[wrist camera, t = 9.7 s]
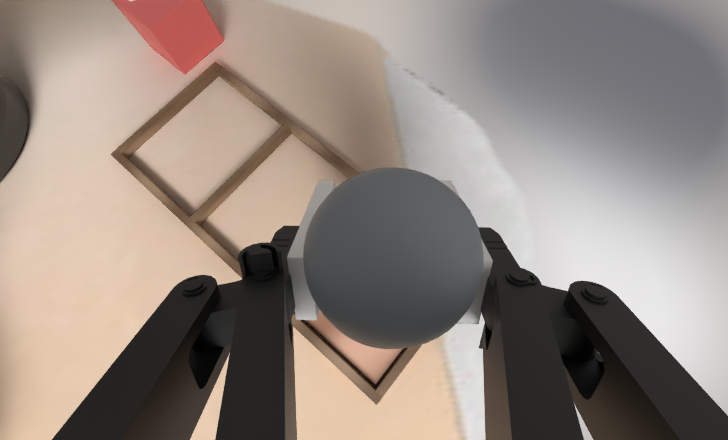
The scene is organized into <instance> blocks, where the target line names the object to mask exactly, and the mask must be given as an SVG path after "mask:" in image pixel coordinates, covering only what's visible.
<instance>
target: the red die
mask: <svg viewBox="0 0 728 440" xmlns="http://www.w3.org/2000/svg"><path fill="white" fill-rule="evenodd" d="M112 1H113V2H114V3H115V5H116V6H117V7H118V8H119V9H120V11H121V12H122V13H123V14H124V15H125V17H126V18H127V19H128V20H129V21H130V23H131V24H132V25H133V26H134V27H135V29H136V30H137V31H138V32H139V33H140V35H141V36H142V37H143V38H144V39H145V40H146V42H147V43H148V44H149V45H150V46H151V47H152V48H153V49H154V50H155V51H157V52H158V53H159V54H160V55H162V56H163V57H164V58H165V59H167V60H168V61H169V62H170V63H172V64H173V65H174V66H175V67H176V68H178V69H179V70H180V71H181V72H183V73H184V74H186V73H187V72H188V71H189V70H191V69H192V68H193V67H194V66H195V65H196V64H197V63H199V62H200V61H201V60H202V59H203V58H204V57H205V56H207V55H208V54H209V53H210V52H211V51H212V50H213V49H215V48H216V47H217V46H218V45H219V44H220V43H221V42H223V41H224V39H223V37H222V36H221V34H220V32H219V30H218V28H217V27H216V25H215V23H214V21H213V19H212V17H211V16H210V14H209V12H208V10H207V8H206V6H205V5H204V3H203V1H202V0H112Z"/></svg>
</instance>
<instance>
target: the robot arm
mask: <svg viewBox="0 0 728 440" xmlns="http://www.w3.org/2000/svg"><path fill="white" fill-rule="evenodd" d="M27 126H28V112H27V107H26V103H25V100H24V98H23V96H22V94H21V92H20V91H19V90H18V88H17V87H16V86H15V85H14V84H13V83H12V82H11V81H9V80H8V79H7V78H5V77H3V76H2V75H0V180H1V178H2V177H3V176H4V175H5V174H6V173H7V171H8V170H9V169H10V167H11V166H12V164H13V163H14V161H15V160H16V158H17V156H18V154H19V152H20V150H21V148H22V145H23V143H24V140H25V137H26V132H27ZM440 182H442V183H443V184H445V185H446V186H448V187H449V188H450V189H451V190H453V191H454V192H455V193H456V194H457V195H458V193H457V191H456V189H455V187H454V185H453V183H452V181H440ZM334 189H335V184H334V180H319V181H318V183H317V186H316V188H315V191H314V193H313V195H312V198H311V200H310V203H309V205H308V207H307V210H306V212H305V215H304V217H303V220H302V222H301V224H300V226H283V227H282V228H281V229H279V230H278V231H277V232H276V233H275V235H274V237H273V239H272V241H271V242H270V243H258V244H253V245H251V246H248V247H246V248H245V249H243V250H242V251H241V252H240V253H239V255H238V260H239V264H240V268H241V273H242V277H243V278H242V280H240V281H236V282H232V283H227V284H222V285H217V282H216V279H215V278H213V277H212V276H207V275H199V276H194V277H190V278H187V279H185V280H184V281H182V282H180V283H179V284H177V285H176V286H175V287H174V288H173V289H172V291H171V292H170V293H169V294H168V296H167V297H166V298H165V299H164V301H163V302H162V303H161V304H160V306H159V307H158V308H157V309H156V311H155V312H154V313H153V314H152V316H151V317H150V318H149V319H148V321H147V322H146V323H145V324H144V326H143V327H142V328H141V329H140V330H139V332H138V333H137V334H136V335H135V337H134V338H133V339H132V340H131V342H130V343H129V344H128V345H127V347H126V348H125V349H124V350H123V352H122V353H121V354H120V355H119V357H118V358H117V359H116V360H115V362H114V363H113V364H112V365H111V367H110V368H109V369H108V370H107V372H106V373H105V374H104V375H103V377H102V378H101V379H100V380H99V382H98V383H97V384H96V385H95V387H94V388H93V389H92V390H91V392H90V393H89V394H88V395H87V397H86V398H85V399H84V400H83V402H82V403H81V404H80V405H79V407H78V408H77V409H76V410H75V412H74V413H73V414H72V415H71V417H70V418H69V419H68V420H67V422H66V423H65V424H64V425H63V427H62V428H61V429H60V430H59V432H58V433H57V434H56V435H55V436H54V438H53V439H52V440H190V438H191V436H192V433H193V431H194V429H195V427H196V425H197V423H198V420H199V418H200V416H201V414H202V412H203V409H204V407H205V405H206V403H207V401H208V399H209V396H210V394H211V392H212V390H213V388H214V385H215V383H216V381H217V379H218V377H219V375H220V372H221V370H222V368H223V366H224V364H225V361H226V359H227V357H228V355H229V353H230V356H229V362H228V368H227V374H226V380H225V386H224V392H223V398H222V404H221V410H220V416H219V421H218V427H217V433H216V439H215V440H297V428H296V401H295V373H294V346H293V326H292V320H291V319H292V316H293V312H294V310H295V317H296V320H317V318H318V313H319V308H318V307H317V305H316V303H315V301H314V299H313V298H312V296H311V293H310V290H309V288H308V285H307V282H306V277H305V273H304V263H303V251H304V242H305V236H306V233H307V230H308V226H309V224H310V222H311V220H312V217H313V215H314V214H315V212H316V210H317V209H318V207H319V206H320V204H321V203H322V202H323V201H324V199H325V198H326V197H327V196H328V195H329V194H330V193H331V192H332V191H333V190H334ZM458 196H459V195H458ZM478 229H479V232H480V236H481V240H482V246H483V255H484V257H483V273H482V279H481V282H480V286H479V289H478V292H477V294H476V296H475V298H474V301H473V302H472V304H471V306H470V307H469V309H468V310H467V312H466V313H465V314H464V315H463V317H462V318H461V319H460V320H459V321H458V323H459V324H479V319H480V315H481V313H482V315H483V318H484V320H485V325H484V329H483V333H482V337H481V341H480V345H479V348H481V349H482V348H483V364H484V398H485V431H486V440H584V439H583V435H582V432H581V428H580V424H579V421H578V417H577V413H576V410H575V406H574V404H575V405H576V407H577V409H578V411H579V413H580V415H581V417H582V419H583V420H584V422H585V424H586V426H587V428H588V430H589V432H590V434H591V436H592V438H593V439H594V440H728V416H727V415H726V414H725V412H724V411H723V410H722V409H721V408H720V407H719V406H718V405H717V404H716V403H715V402H714V400H712V398H711V397H710V396H709V395H708V394H707V393H706V392H705V391H704V390H703V389H702V387H701V386H700V385H699V384H698V383H697V382H696V381H695V380H694V379H693V378H692V377H691V375H690V374H689V373H688V372H687V371H686V370H685V369H684V368H683V367H682V366H681V365H680V364H679V362H678V361H677V360H676V359H675V358H674V357H673V356H672V355H671V354H670V353H669V352H668V350H666V348H665V347H664V346H663V345H662V344H661V343H660V342H659V341H658V340H657V339H656V337H655V336H654V335H653V334H652V333H651V332H650V331H649V330H648V329H647V328H646V326H645V325H644V324H643V323H642V322H641V321H640V320H639V319H638V318H637V317H636V316H635V315H634V313H633V312H632V311H631V310H630V309H629V308H628V307H627V306H626V305H625V304H624V303H623V302H622V301H621V299H620V298H619V297H618V296H617V295H616V294H615V293H613V292H612V291H611V290H609V289H607V288H606V287H604V286H602V285H599V284H596V283H593V282H588V281H577V282H574V283H572V284H571V285H570V287H569V290H568V291H564V290H559V289H555V288H550V287H547V286H543V285H541V282H540V280H539V279H538V277H537V276H535V275H534V274H533V273H532V272H530V271H527V270H525V269H522V268H520V267H519V265H518V264H517V262H516V261H515V259H514V257H513V256H512V254H511V253H510V251H509V249H507V246H506V244H505V243H504V241H503V240H502V238H501V236H500V235H499V234H498V233H497V232H495V231H494V230H493V229H491V228H480V227H478ZM598 352H599V353H598Z"/></svg>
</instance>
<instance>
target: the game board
mask: <svg viewBox="0 0 728 440" xmlns="http://www.w3.org/2000/svg"><path fill="white" fill-rule="evenodd" d="M218 76H220V77H221V78H222V79H224V80H225V81H226V82H227V83H229V84H230V85H231V86H232V87H234V88H235V89H236V90H238V91H239V92H240V93H241V94H243V95H244V96H245V97H246V98H248V99H249V100H250V101H252V102H253V103H254V104H255V105H257V106H258V107H259V108H260V109H262V110H263V111H264V112H266V113H267V114H268V115H269V116H271V117H272V118H273V119H275V120H276V121H277V122H278V123H280V124H281V125H282V127H281V128H280V129H279V130H278V131H277V132H276V133H275V134H274V135H273V136H272V137H271V138H270V139H269V140H268V141H267V142H266V143H265V144H264V145H263V146H262V147H261V148H260V149H259V150H258V151H257V152H256V153H255V154H254V155H252V156H251V157H250V158H249V159H248V160H247V161H246V162H245V163H244V164H243V165H242V166H241V167H240V168H239V169H238V170H237V171H236V172H235V173H234V174H233V175H232V176H231V177H230V178H229V179H228V180H227V181H226V182H225V183H224V184H223V185H222V186H221V187H220V188H219V189H218V190H217V191H216V192H215V193H214V194H213V195H212V196H211V197H210V198H209V199H208V200H207V201H206V202H205V203H204V204H203V205H202V206H201V207H200V208H199V209H198V210H197V211H196V212H195V213H194V214H193V215H192V216H190V215H189V214H187V213H186V212H185V211H184V210H183V209H182V208H181V207H180V206H179V205H178V204H177V203H176V202H175V201H173V200H172V199H171V198H170V197H169V196H168V195H167V194H166V193H165V192H164V191H163V190H162V189H161V188H159V187H158V186H157V185H156V184H155V183H154V182H153V181H152V180H151V179H150V178H149V177H148V176H147V175H145V174H144V173H143V172H142V171H141V170H140V169H139V168H138V167H137V166H136V165H135V164H134V163H133V162H132V161H130V160H129V159H128V157H129V156H130V155H131V154H132V153H133V152H134V151H136V150H137V149H138V148H139V147H140V146H141V145H142V144H143V143H145V142H146V141H147V140H148V139H149V138H150V137H151V136H152V135H153V134H155V133H156V132H157V131H158V130H159V129H160V128H161V127H162V126H163V125H165V124H166V123H167V122H168V121H169V120H170V119H171V118H172V117H173V116H175V115H176V114H177V113H178V112H179V111H180V110H181V109H182V108H184V107H185V106H186V105H187V104H188V103H189V102H190V101H191V100H192V99H194V98H195V97H196V96H197V95H198V94H199V93H200V92H201V91H202V90H204V89H205V88H206V87H207V86H208V85H209V84H210V83H211V82H212V81H214V80H215V79H216V78H217V77H218ZM291 133H292V134H294V135H295V136H296V137H297V138H299V139H300V140H301V141H303V142H304V143H305V144H306V145H308V146H309V147H310V148H312V149H313V150H314V151H315V152H317V153H318V154H319V155H320V156H322V157H323V158H324V159H326V160H327V161H328V162H329V163H331V164H332V165H333V166H334V167H336V168H337V169H338V170H340V171H341V172H342V173H343V174H345V175H346V176H347V177H349V178H352V177H354V176H356V175H358V174H359V173H358V172H357V171H355V170H354V169H353V168H352V167H350V166H349V165H348V164H346V163H345V162H344V161H343V160H341V159H340V158H339V157H337V156H336V155H335V154H333V153H332V152H331V151H330V150H328V149H327V148H326V147H324V146H323V145H322V144H321V143H319V142H318V141H317V140H315V139H314V138H313V137H312V136H310V135H309V134H308V133H306V132H305V131H304V130H302V129H301V128H300V127H299V126H297V125H296V124H295V123H293V122H292V121H291V120H290V119H288V118H287V117H286V116H284V115H283V114H282V113H281V112H279V111H278V110H277V109H275V108H274V107H273V106H271V105H270V104H269V103H268V102H266V101H265V100H264V99H262V98H261V97H260V96H259V95H257V94H256V93H255V92H253V91H252V90H251V89H250V88H248V87H247V86H246V85H244V84H243V83H242V82H241V81H239V80H238V79H237V78H235V77H234V76H233V75H231V74H230V73H229V72H228V71H226V70H225V69H224V68H222V67H221V66H220V65H219V64H217V63H216V62H214V63H213V64H212V65H211V66H210V67H209V68H208V69H207V70H205V71H204V72H203V73H202V74H201V75H200V76H199V77H197V78H196V79H195V80H194V81H193V82H192V83H191V84H190V85H188V86H187V87H186V88H185V89H184V90H183V91H182V92H181V93H179V94H178V95H177V96H176V97H175V98H174V99H173V100H171V101H170V102H169V103H168V104H167V105H166V106H165V107H164V108H162V109H161V110H160V111H159V112H158V113H157V114H156V115H155V116H153V117H152V118H151V119H150V120H149V121H148V122H147V123H145V124H144V125H143V126H142V127H141V128H140V129H139V130H138V131H136V132H135V133H134V134H133V135H132V136H131V137H130V138H128V139H127V140H126V141H125V142H124V143H123V144H122V145H121V146H119V147H118V148H117V149H116V150H115V151H114V152H113V153H112V154H111V155H112V156H113V157H114V158H115V159H116V160H117V161H118V162H119V163H120V164H121V165H122V166H123V167H125V168H126V169H127V170H128V171H129V172H130V173H131V174H132V175H133V176H134V177H135V178H136V179H137V180H138V181H139V182H140V183H142V184H143V185H144V186H145V187H146V188H147V189H148V190H149V191H150V192H151V193H152V194H153V195H154V196H155V197H156V198H157V199H159V200H160V201H161V202H162V203H163V204H164V205H165V206H166V207H167V208H168V209H169V210H170V211H171V212H172V213H173V214H174V215H176V216H177V217H178V218H179V219H180V220H181V221H182V222H183V223H184V224H185V225H186V226H187V227H188V228H189V229H190V230H191V231H193V232H194V233H195V234H196V235H197V236H198V237H199V238H200V239H201V240H202V241H203V242H204V243H205V244H206V245H207V246H208V247H210V248H211V249H212V250H213V251H214V252H215V253H216V254H217V255H218V256H219V257H220V258H221V259H222V260H223V261H224V262H225V263H227V264H228V265H229V266H230V267H231V268H232V269H233V270H234V271H235V272H236V273H237V274H238V275H239V276H240V277H241V278H243V277H242V273H241V268H240V264H239V261H238V260H237V259H236V258H235V257H234V256H233V255H232V254H231V253H229V252H228V251H227V250H226V249H225V248H224V247H223V246H222V245H221V244H220V243H219V242H218V241H217V240H215V239H214V238H213V237H212V236H211V235H210V234H209V233H208V232H207V231H206V230H205V229H204V228H203V227H201V226H200V224H201V223H202V222H203V221H204V220H205V219H206V218H207V217H208V216H209V215H210V214H211V213H212V212H213V211H214V210H215V209H216V208H217V207H218V206H219V205H220V204H221V203H222V202H223V201H224V200H225V199H226V198H227V197H228V196H229V195H230V194H231V193H232V192H233V191H234V190H235V189H236V188H237V187H238V186H239V185H240V184H241V183H242V182H243V181H244V180H245V179H246V178H247V177H248V176H249V175H250V174H251V173H252V172H253V171H254V170H255V169H256V168H257V167H258V166H259V165H260V164H261V163H262V162H263V161H264V160H265V159H266V158H267V157H268V156H269V155H270V154H271V153H272V152H273V151H274V150H275V149H276V148H277V147H278V146H279V145H280V144H281V143H282V142H283V141H284V140H285V139H286V138H287V137H288V136H289V135H290V134H291ZM291 320H292V326H294V327H295V328H296V329H297V330H298V331H299V332H300V333H301V334H302V335H303V336H304V337H305V338H306V339H307V340H308V341H309V342H311V343H312V344H313V345H314V346H315V347H316V348H317V349H318V350H319V351H320V352H321V353H322V354H323V355H324V356H325V357H326V358H328V359H329V360H330V361H331V362H332V363H333V364H334V365H335V366H336V367H337V368H338V369H339V370H340V371H341V372H342V373H343V374H345V375H346V376H347V377H348V378H349V379H350V380H351V381H352V382H353V383H354V384H355V385H356V386H357V387H358V388H359V389H360V390H362V391H363V392H364V393H365V394H366V395H367V396H368V397H369V398H370V399H371V400H372V401H373V402H374V403H375V404H376V405H377V404H378V402H379V401H380V400H381V398H382V397H383V396H384V394H385V393H386V392H387V390H388V389H389V388H390V386H391V385H392V384H393V382H394V381H395V380H396V378H397V377H398V376H399V374H400V373H401V372H402V370H403V369H404V368H405V367H406V365H407V364H408V363H409V361H410V360H411V359H412V357H413V356H414V355H415V353H416V352H417V351H418V349H419V348H420V347H421V345H422V344H421V345H418V346H414V347H408V348H406V349H405V350H404V351H403V353H402V354H401V355H400V357H399V358H398V359H397V360H396V362H395V363H394V364H393V366H392V367H391V368H390V370H389V371H388V372H387V374H386V375H385V376H384V378H383V379H382V380H381V381H380V383H379V384H378V385H377V387H376V388H375V387H374V386H373V385H371V384H370V383H369V382H368V381H367V380H366V379H365V378H364V377H363V376H362V375H361V374H360V373H359V372H358V371H356V370H355V369H354V368H353V367H352V366H351V365H350V364H349V363H348V362H347V361H346V360H345V359H344V358H342V357H341V356H340V355H339V354H338V353H337V352H336V351H335V350H334V349H333V348H332V347H331V346H330V345H328V344H327V343H326V342H325V341H324V340H323V339H322V338H321V337H320V336H319V335H318V334H317V333H316V332H314V331H313V330H312V329H311V328H310V327H309V326H308V325H307V324H306V323H305V322H304V321H303V320H296V317H295V313H294V312H293V316H292V319H291ZM306 321H307V322H308V323H309V324H310V325H311V326H312V327H313V328H314V329H316V330H317V331H318V332H319V333H320V334H321V335H322V336H323V337H324V338H325V339H326V340H327V341H329V342H330V343H331V344H332V345H333V346H334V347H335V348H336V349H337V350H338V351H339V352H340V353H341V354H343V355H344V356H345V357H346V358H347V359H348V360H349V361H350V362H351V363H352V364H353V365H354V366H356V367H357V368H358V369H359V370H360V371H361V372H362V373H363V374H364V375H365V376H366V377H367V378H368V379H370V380H371V381H372V382H373V383H374V384H375V385H376V383H377V382H378V381H379V379H380V378H381V377H382V375H383V374H384V373H385V371H386V370H387V369H388V368H389V366H390V365H391V364H392V362H393V361H394V360H395V358H396V357H397V356H398V354H399V353H400V352H401V351H402V349H403V348H401V349H380V348H374V347H370V346H366V345H363V344H361V343H359V342H356V341H354V340H352V339H351V338H349V337H347V336H346V335H344V334H343V333H342V332H340V331H339V330H338V329H337V328H336V327H335V326H334V325H333V324H332V323H331V322H330V321H329V320H328V319H327V318H326V317H325V316H324V315H323V313H322V312H321V311H320V309H319V313H318V318H317V320H306Z"/></svg>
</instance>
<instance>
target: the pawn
mask: <svg viewBox="0 0 728 440" xmlns="http://www.w3.org/2000/svg"><path fill="white" fill-rule="evenodd" d="M483 257H484V255H483V246H482V240H481V236H480V232H479V229H478V226H477V224H476V221H475V219H474V217H473V216H472V214H471V212H470V210H469V209H468V207H467V206H466V205H465V203H464V202H463V201H462V199H461V198H460V197H459V196H458V195H457V194H456V193H455V192H454V191H453V190H451V189H450V188H449V187H448V186H446V185H445V184H443V183H442V182H440V181H439V180H437V179H435V178H433V177H431V176H429V175H427V174H424V173H421V172H418V171H414V170H410V169H403V168H381V169H375V170H371V171H367V172H363V173H361V174H358V175H356V176H354V177H352V178H350V179H348V180H346V181H345V182H343V183H342V184H340V185H339V186H338V187H336V188H335V189H334V190H333V191H332V192H331V193H330V194H329V195H328V196H327V197H326V198H325V199H324V201H323V202H322V203H321V204H320V206H319V207H318V209H317V210H316V212H315V214H314V215H313V217H312V220H311V222H310V224H309V226H308V230H307V233H306V236H305V242H304V251H303V263H304V273H305V277H306V282H307V285H308V288H309V290H310V293H311V296H312V298H313V299H314V301H315V303H316V305H317V307H318V308H319V309H320V311H321V312H322V313H323V315H324V316H325V317H326V318H327V319H328V320H329V321H330V322H331V323H332V324H333V325H334V326H335V327H336V328H337V329H338V330H339V331H340V332H342V333H343V334H344V335H346V336H347V337H349V338H351V339H352V340H354V341H356V342H359V343H361V344H363V345H366V346H370V347H374V348H380V349H401V348H408V347H414V346H418V345H421V344H424V343H427V342H429V341H431V340H434V339H436V338H438V337H439V336H441V335H442V334H444V333H445V332H447V331H448V330H450V329H451V328H452V327H453V326H454V325H455V324H456V323H458V321H459V320H460V319H461V318H462V317H463V315H464V314H465V313H466V312H467V310H468V309H469V307H470V306H471V304H472V302H473V301H474V298H475V296H476V294H477V292H478V289H479V286H480V282H481V279H482V273H483Z"/></svg>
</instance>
